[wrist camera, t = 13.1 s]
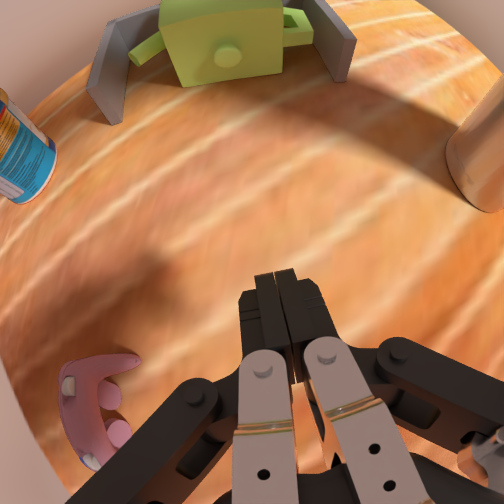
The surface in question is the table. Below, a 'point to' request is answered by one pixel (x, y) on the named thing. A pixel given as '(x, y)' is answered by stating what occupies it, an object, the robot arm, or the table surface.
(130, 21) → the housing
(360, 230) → the table surface
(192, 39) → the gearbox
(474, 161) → the robot arm
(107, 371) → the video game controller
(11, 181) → the beverage bottle
